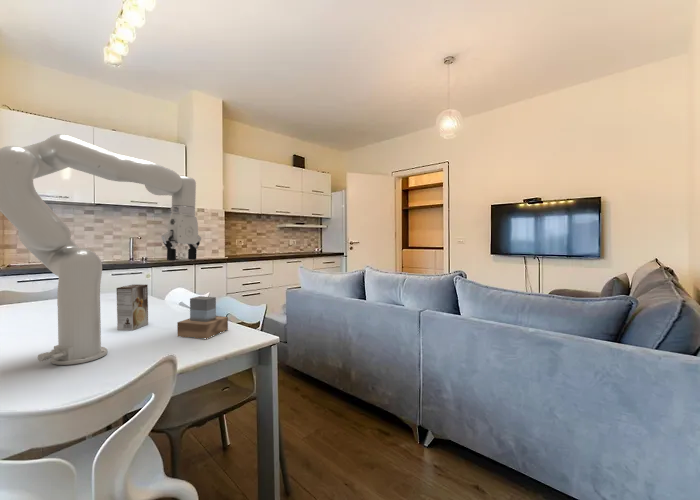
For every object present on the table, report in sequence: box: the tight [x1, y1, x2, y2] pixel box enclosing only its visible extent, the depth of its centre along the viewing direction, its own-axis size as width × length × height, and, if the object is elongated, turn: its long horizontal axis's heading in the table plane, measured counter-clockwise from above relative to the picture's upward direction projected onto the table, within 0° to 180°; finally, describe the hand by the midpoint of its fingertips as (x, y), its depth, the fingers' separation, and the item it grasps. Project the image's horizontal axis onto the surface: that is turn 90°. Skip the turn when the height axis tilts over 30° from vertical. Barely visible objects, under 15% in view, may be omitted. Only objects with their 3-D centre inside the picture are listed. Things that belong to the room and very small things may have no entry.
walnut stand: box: [176, 315, 229, 340], centre depth 122 cm, size 12×12×5 cm
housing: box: [189, 295, 217, 322], centre depth 122 cm, size 5×7×8 cm
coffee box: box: [116, 284, 149, 331], centre depth 129 cm, size 9×6×16 cm
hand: (182, 259), depth 119 cm, fingers open, 9 cm apart
